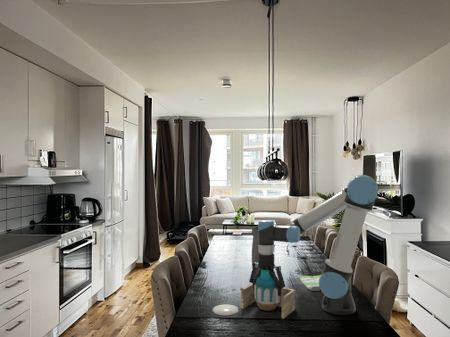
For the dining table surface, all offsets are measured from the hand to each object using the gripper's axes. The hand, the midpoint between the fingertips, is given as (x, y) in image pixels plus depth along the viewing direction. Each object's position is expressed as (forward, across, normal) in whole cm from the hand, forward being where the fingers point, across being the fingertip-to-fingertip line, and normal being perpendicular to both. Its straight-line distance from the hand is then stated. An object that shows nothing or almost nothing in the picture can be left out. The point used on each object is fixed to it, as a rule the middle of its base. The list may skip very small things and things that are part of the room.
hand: (267, 300), depth 164 cm
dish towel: (+5, -7, -50) cm, 51 cm away
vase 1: (+5, +28, -46) cm, 54 cm away
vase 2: (+5, 0, 0) cm, 5 cm away
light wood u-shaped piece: (+4, 0, 0) cm, 4 cm away
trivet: (+4, +16, +12) cm, 20 cm away
